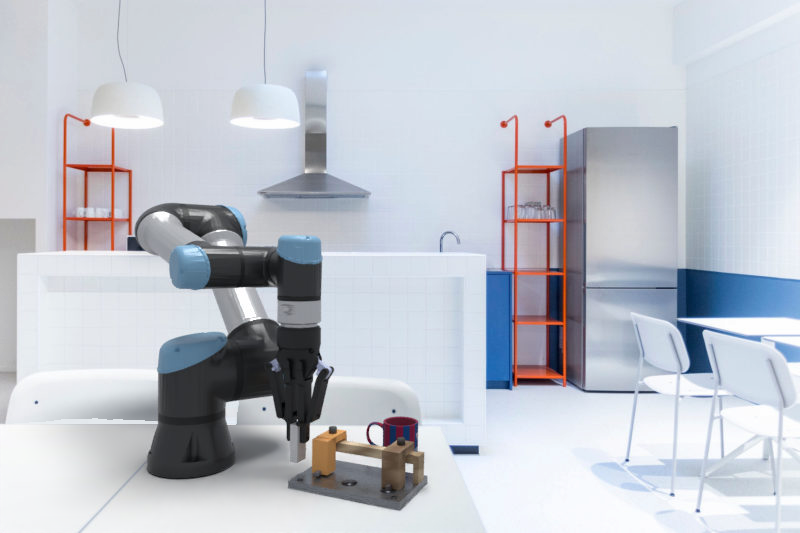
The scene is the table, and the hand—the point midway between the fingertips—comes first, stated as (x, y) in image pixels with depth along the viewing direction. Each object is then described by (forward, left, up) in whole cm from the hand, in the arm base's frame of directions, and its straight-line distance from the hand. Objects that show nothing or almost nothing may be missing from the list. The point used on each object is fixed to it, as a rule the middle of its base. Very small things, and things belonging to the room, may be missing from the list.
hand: (297, 460), depth 105 cm
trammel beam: (+11, +2, -2) cm, 12 cm away
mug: (+10, +17, -3) cm, 20 cm away
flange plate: (+11, +1, -3) cm, 12 cm away
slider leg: (+5, +2, -1) cm, 5 cm away
